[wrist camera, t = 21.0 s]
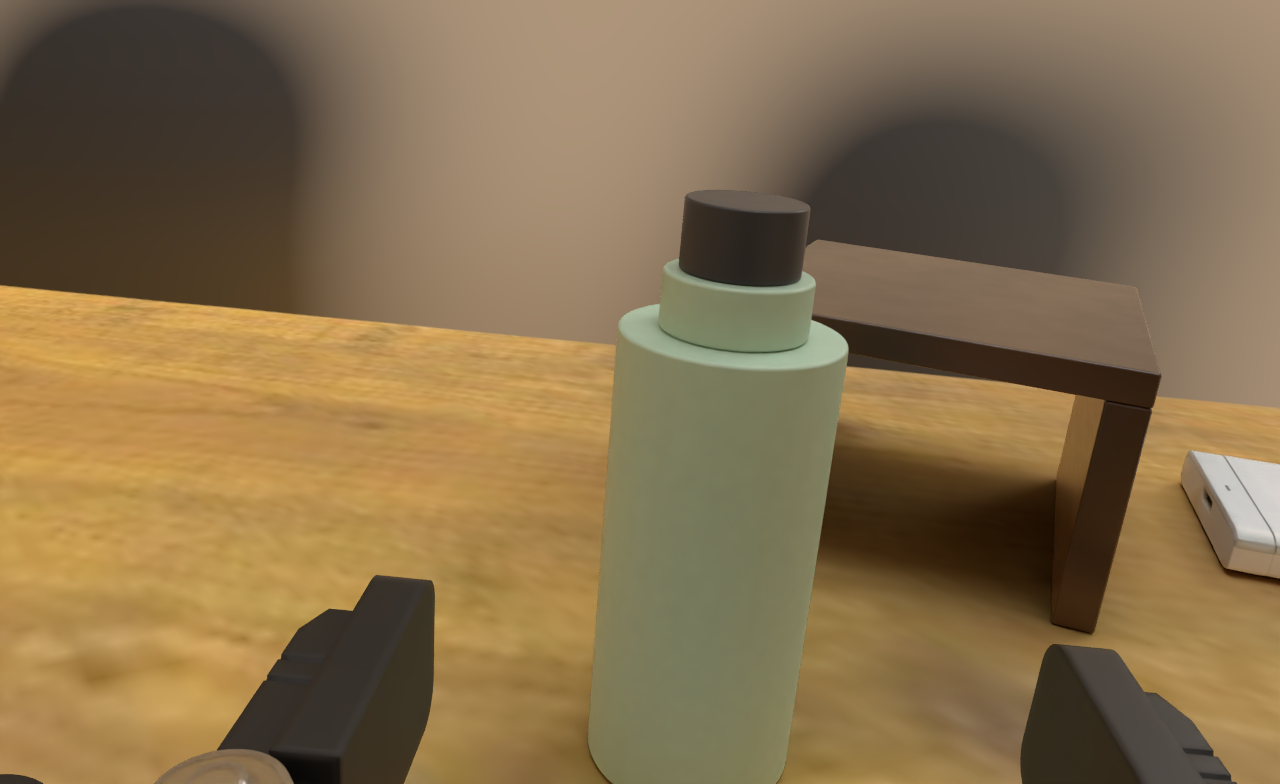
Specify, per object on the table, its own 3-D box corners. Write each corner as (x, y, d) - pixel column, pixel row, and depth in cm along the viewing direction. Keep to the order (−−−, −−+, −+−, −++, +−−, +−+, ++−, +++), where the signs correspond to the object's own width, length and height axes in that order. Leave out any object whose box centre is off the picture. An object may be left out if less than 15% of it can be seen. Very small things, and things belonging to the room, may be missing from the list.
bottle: (806, 717, 25) (887, 201, 21) (754, 843, 21) (842, 235, 17) (632, 664, 27) (676, 173, 22) (553, 773, 23) (587, 198, 18)
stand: (1088, 484, 40) (1137, 286, 38) (1093, 635, 30) (1162, 374, 27) (791, 422, 44) (816, 239, 42) (703, 535, 34) (729, 299, 31)
